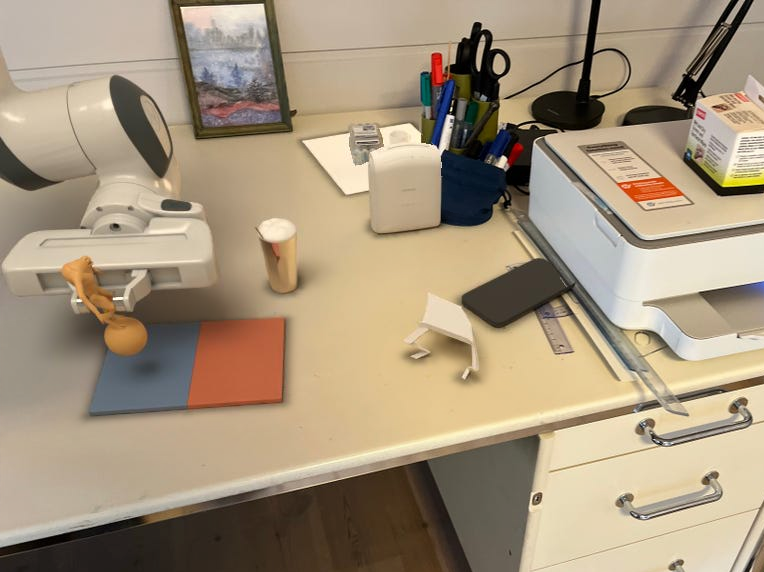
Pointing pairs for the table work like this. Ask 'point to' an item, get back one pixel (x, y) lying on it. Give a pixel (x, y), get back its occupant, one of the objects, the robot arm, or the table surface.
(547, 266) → the phone
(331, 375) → the table surface
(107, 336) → the figurine
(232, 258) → the table surface
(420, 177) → the photo printer
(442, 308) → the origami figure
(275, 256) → the milkshake
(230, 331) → the sorting board
